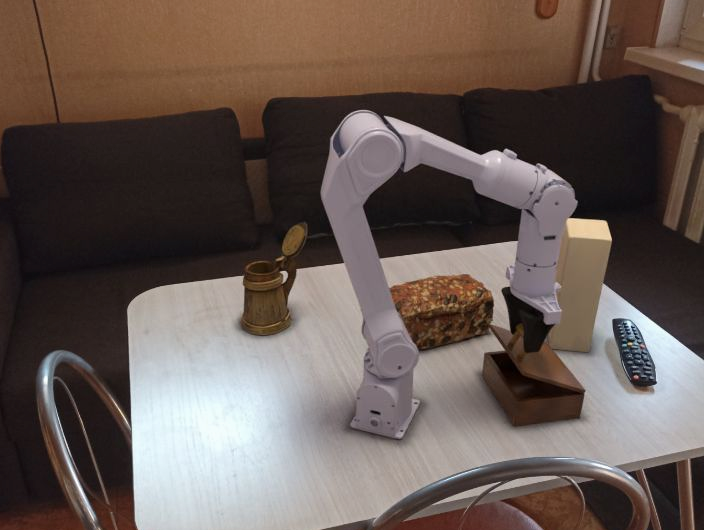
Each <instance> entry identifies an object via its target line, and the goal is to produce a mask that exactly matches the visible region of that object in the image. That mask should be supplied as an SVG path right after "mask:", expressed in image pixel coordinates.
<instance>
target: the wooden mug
mask: <svg viewBox="0 0 704 530" xmlns="http://www.w3.org/2000/svg"><path fill="white" fill-rule="evenodd" d="M307 237H308V223H307V222H306V221H304V222H299V223H296V224H295V225H293V226H292V227H290V229H289V230H288V231H287V232H286V234H285V236H284V238H283V241H282V246H281V254H280V256H279V258H276V259H274V260H273V262H272V261H268V260H267V261H266V260H258V261H254V262H251V263H248V264H247V265H246V266H245V268H244V274H243V278H242V286H243V287H244V289H243V290H244V295H243V312H242V316H241V327H242V329H243V330H244V331H245V332H247V333H250V334H253V335H259V336H270V335H274V334H277V333H280V332H282V331H283V330H285V329H288V327H289V326H290V325H291V323H292V317H291V311H290V308H289V307H288V303H289V297H290V293H291V291H292V289H293V286H294V285H295V281H296V278H297V271H298V269H297V264H296V261H295V259H294V257H296V256H297V255H299V253H300V252H301V251H302V249H303V247H304V246H305V243H306V240H307ZM284 271H285V272H286V274H287V277H286V279H285V280H284V274H283V273H282V272H284Z"/></svg>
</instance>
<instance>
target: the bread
mask: <svg viewBox="0 0 704 530" xmlns="http://www.w3.org/2000/svg"><path fill="white" fill-rule="evenodd" d="M484 285H485V284H484V283H483V282H482V281H479V280H477V279H476V278H474V277H473V276H472V275H471V274H469V273H468V274H467V273H463V274H457V275H455V274H452V275H434V276H428V277H426V278H425V277H424V278H419V279H416V280H412V281H411V280H410V281H405V282H404V283H402V284H395V285H392V286H391V287H389V290H390V293H391V296H392V299H393V302H394V305H395V308H396V311H397V312H398V313H399V314H400V315H401V317H402V319H403V322H404V325H405V327H406V329H407V331H408V333H409V335H410V337H411V339H412V341H413V343H414V344H415V345H416V347H417V349H418V350H427V349H429V348H431V349H432V348H434V347H439V346H443V345H447V344H453V343H456V342H461V341H463V340H464V339H469V338H470V337H475V336H476V335H484V334H486V333H487V332H489V330H490V328H489V326H490V324H492V323H493V318H494V308H495V299H494V297H493V293H492V291H491V290H489V289H487V288H486V287H485V286H484Z"/></svg>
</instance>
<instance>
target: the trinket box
mask: <svg viewBox="0 0 704 530" xmlns="http://www.w3.org/2000/svg"><path fill="white" fill-rule="evenodd" d="M482 361H483V362H482V371H481V376H482V378H483V379H484V380H485V382H486V384H487V385H488V387H489V388H490V390H491V392H492V393H493V395H494V397H495V399H496V400H497V402H498V403H499V405H500V407H501V408H502V410H503V411H504V413H505V415H506V416H507V418H508V420H509V421H510V422H511V425H512V426H513V427H517V426H526V425H533V424H540V423H548V422H555V421H563V420H572V419H579V418H581V414H582V411H583V404H584V400H585V393H580V392H577V391H574V390H570V389H567V388H564V387H560V386H557V385H554V384H550V383H547V382H544V381H540V380H537V379H534V378H530V377H527V376H524V375H522V373H521V372H520V371H519V369H518V368H517V366H516V365H515V364H514V362H513V361H512V359H511V358H510V356H509V355H508V354H507V352H506V351H505V349H503V350H497V351H496V350H495V351H487V352H484V353H483V360H482Z"/></svg>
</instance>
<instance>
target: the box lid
mask: <svg viewBox="0 0 704 530" xmlns="http://www.w3.org/2000/svg"><path fill="white" fill-rule="evenodd" d="M489 330H490V331H491V332H492V335H494V337H495V338H496V339H497V341H498V343H499V344H500V345H501V346H502V348H503V350H505V351H506V352H507V354H508V355H509V356H510V358H511V359H512V361H513V362H514V364H515V365H516V366H517V368H518V369H519V371H520V372H521V373H522V375H524V376H527V377H530V378H534V379H537V380H540V381H544V382H547V383H550V384H554V385H557V386H560V387H564V388H567V389H570V390H574V391H577V392H580V393H584V394H585V393H586V392H587V389H586V388H585V387H584V386H583V385H582V383H581V382H580V381H579V380H578V378H577V377H576V376H575V375H574V374H573V372H571V370H570V369H569V368H568V366H567V365H566V363H564V362H563V360H562V359H561V358H560V357H559V356H558V354H557V353H556V352H555V351H554V349H552V348H551V347H550V346H549V342H546V341H544V343H543V345H542V347H541V349H540V351H539V352H533V353H526V352H525V351H524V346H523V337H524V331H523V324H522V323H519V324H518V325H516V332H515V334H514V335H512V334H511V331H510V329H507V328H504V327H501V326H497V325H495V324H492V323H490V326H489Z"/></svg>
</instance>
